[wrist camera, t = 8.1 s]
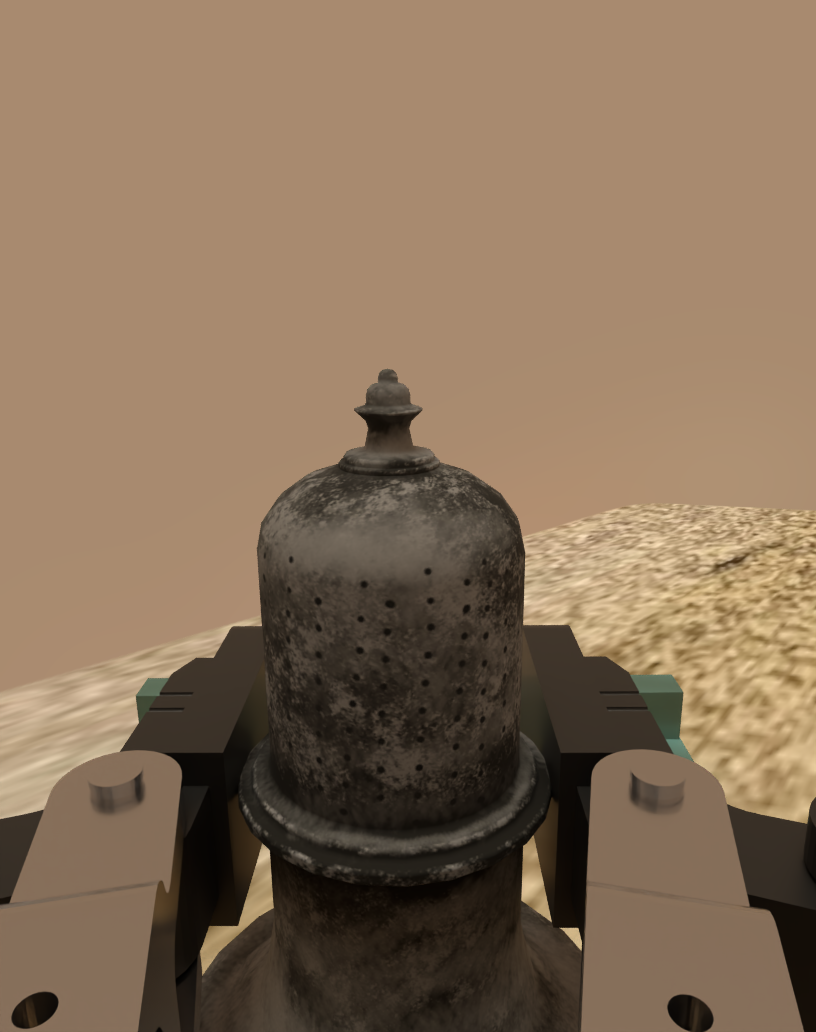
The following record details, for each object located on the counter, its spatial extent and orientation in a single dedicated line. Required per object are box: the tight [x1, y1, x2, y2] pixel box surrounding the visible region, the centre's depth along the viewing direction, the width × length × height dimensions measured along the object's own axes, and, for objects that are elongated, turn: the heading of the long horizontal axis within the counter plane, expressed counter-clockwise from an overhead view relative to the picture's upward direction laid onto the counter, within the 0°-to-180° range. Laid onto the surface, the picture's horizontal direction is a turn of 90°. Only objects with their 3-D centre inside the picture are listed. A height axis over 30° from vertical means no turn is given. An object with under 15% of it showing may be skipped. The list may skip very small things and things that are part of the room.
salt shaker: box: [200, 369, 582, 1032], centre depth 10 cm, size 6×6×12 cm
